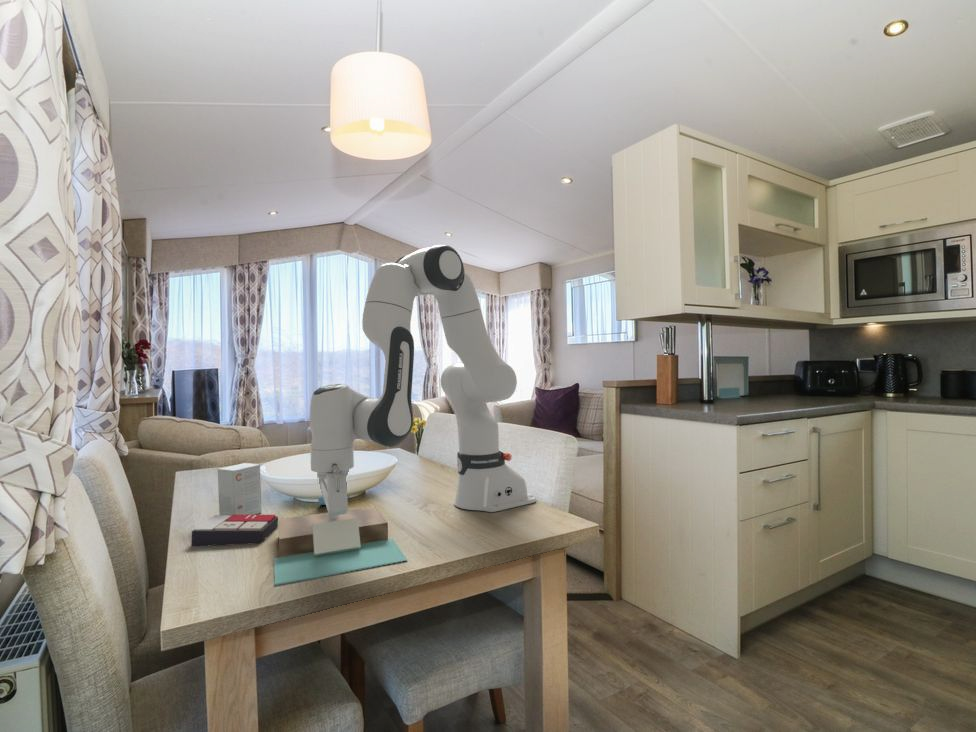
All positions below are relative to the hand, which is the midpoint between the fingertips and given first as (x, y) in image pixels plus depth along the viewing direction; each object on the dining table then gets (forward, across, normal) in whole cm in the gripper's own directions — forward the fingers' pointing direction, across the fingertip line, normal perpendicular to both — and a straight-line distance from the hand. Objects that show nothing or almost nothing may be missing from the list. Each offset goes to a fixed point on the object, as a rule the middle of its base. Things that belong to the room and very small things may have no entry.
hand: (333, 524), depth 106 cm
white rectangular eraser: (+1, -4, 0) cm, 4 cm away
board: (+5, +5, 0) cm, 7 cm away
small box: (+5, +34, +20) cm, 40 cm away
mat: (+5, -8, 0) cm, 10 cm away
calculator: (+5, +17, +20) cm, 27 cm away
